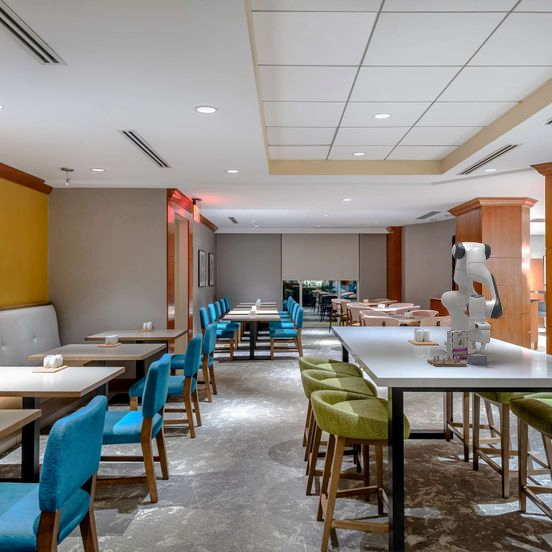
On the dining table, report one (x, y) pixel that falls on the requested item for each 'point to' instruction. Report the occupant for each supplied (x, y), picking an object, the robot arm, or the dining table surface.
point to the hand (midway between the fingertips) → (478, 350)
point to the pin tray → (447, 362)
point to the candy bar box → (457, 344)
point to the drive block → (477, 359)
